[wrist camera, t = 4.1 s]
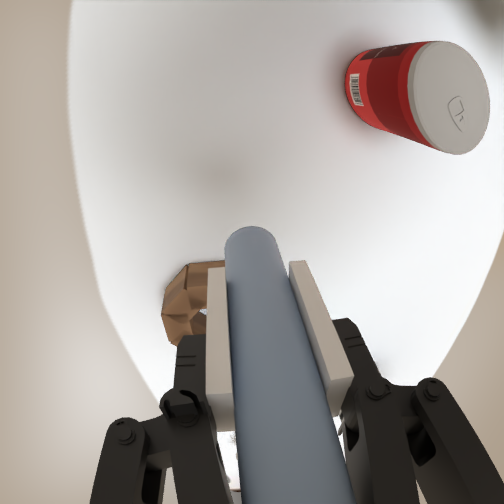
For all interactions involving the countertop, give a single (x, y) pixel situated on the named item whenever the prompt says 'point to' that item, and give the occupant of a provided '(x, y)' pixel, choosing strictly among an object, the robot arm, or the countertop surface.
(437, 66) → the canned food
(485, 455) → the robot arm
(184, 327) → the walnut bead
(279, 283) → the dowel
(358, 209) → the countertop surface
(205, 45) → the countertop surface
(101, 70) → the countertop surface
